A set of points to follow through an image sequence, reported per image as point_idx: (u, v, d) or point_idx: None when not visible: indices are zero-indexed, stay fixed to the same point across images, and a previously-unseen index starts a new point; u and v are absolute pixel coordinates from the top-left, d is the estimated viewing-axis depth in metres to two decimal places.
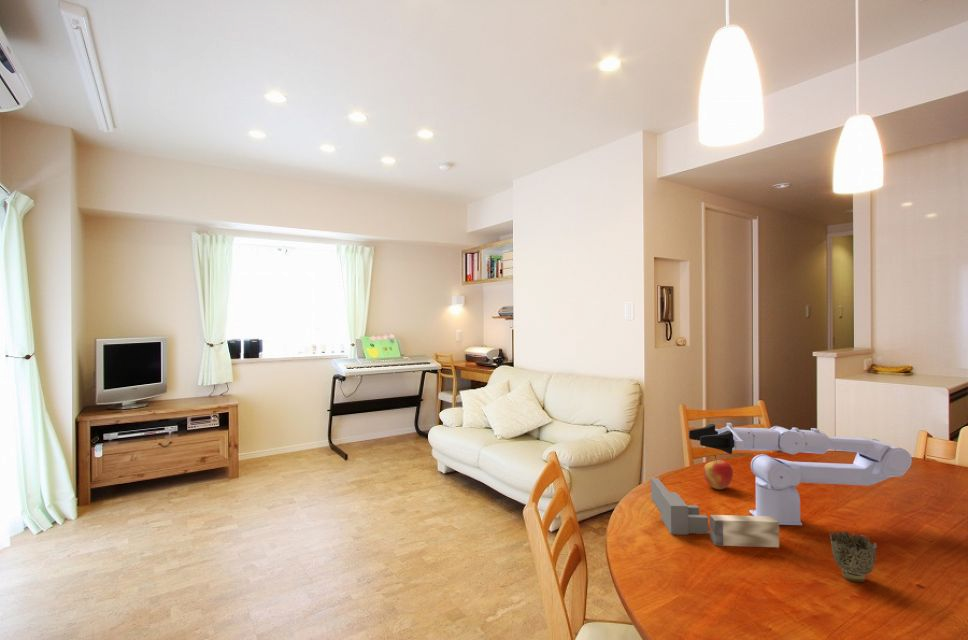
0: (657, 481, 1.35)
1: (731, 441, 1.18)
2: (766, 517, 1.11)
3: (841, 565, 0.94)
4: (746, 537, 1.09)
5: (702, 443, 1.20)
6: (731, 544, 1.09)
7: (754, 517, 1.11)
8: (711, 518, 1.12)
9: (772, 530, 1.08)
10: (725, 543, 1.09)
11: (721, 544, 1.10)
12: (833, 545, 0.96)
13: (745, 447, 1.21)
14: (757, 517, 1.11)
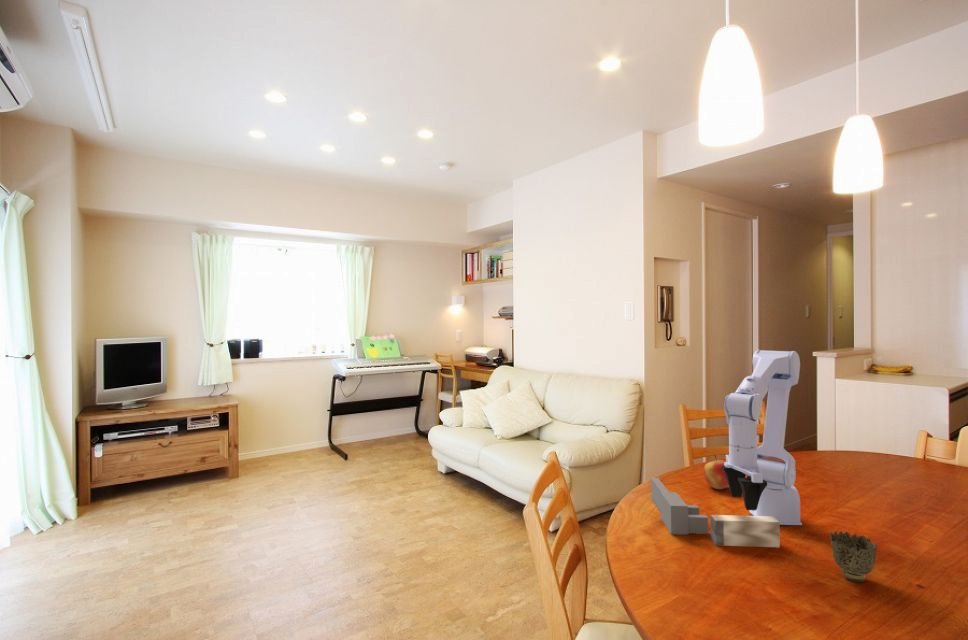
0: (657, 481, 1.35)
1: (752, 483, 1.04)
2: (767, 517, 1.11)
3: (841, 565, 0.94)
4: (746, 538, 1.09)
5: (754, 508, 1.06)
6: (731, 544, 1.09)
7: (755, 517, 1.11)
8: (712, 518, 1.12)
9: (773, 530, 1.08)
10: (725, 543, 1.09)
11: (721, 544, 1.10)
12: (833, 545, 0.96)
13: (755, 455, 1.08)
14: (758, 517, 1.11)
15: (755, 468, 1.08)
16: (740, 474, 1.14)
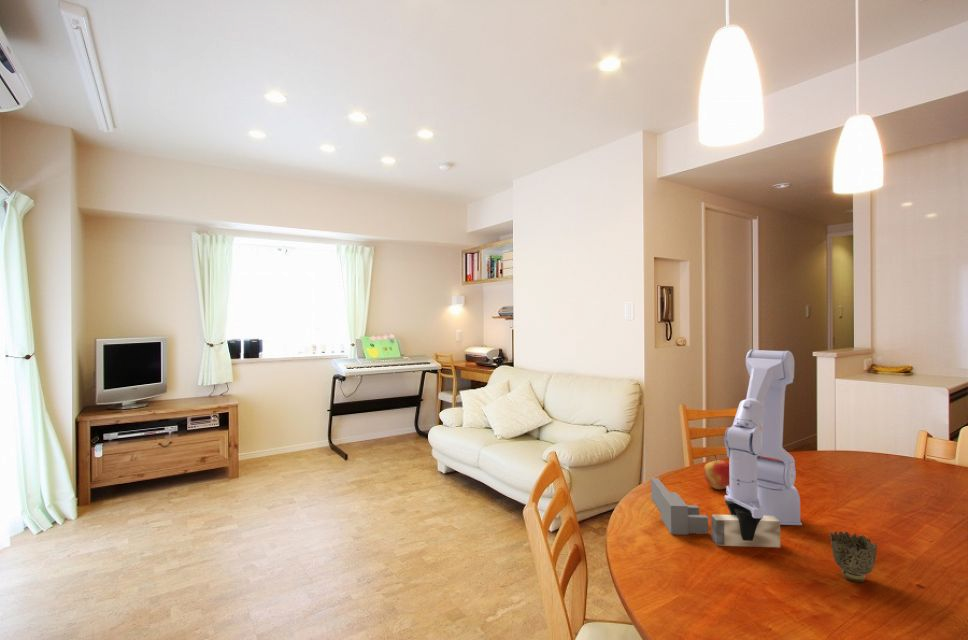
0: (657, 481, 1.35)
1: (749, 515, 1.06)
2: (767, 516, 1.11)
3: (841, 565, 0.94)
4: None
5: (750, 539, 1.08)
6: (732, 544, 1.09)
7: None
8: (712, 518, 1.12)
9: (774, 530, 1.08)
10: (726, 543, 1.09)
11: (722, 544, 1.09)
12: (833, 545, 0.96)
13: (755, 489, 1.08)
14: None
15: (755, 502, 1.08)
16: None
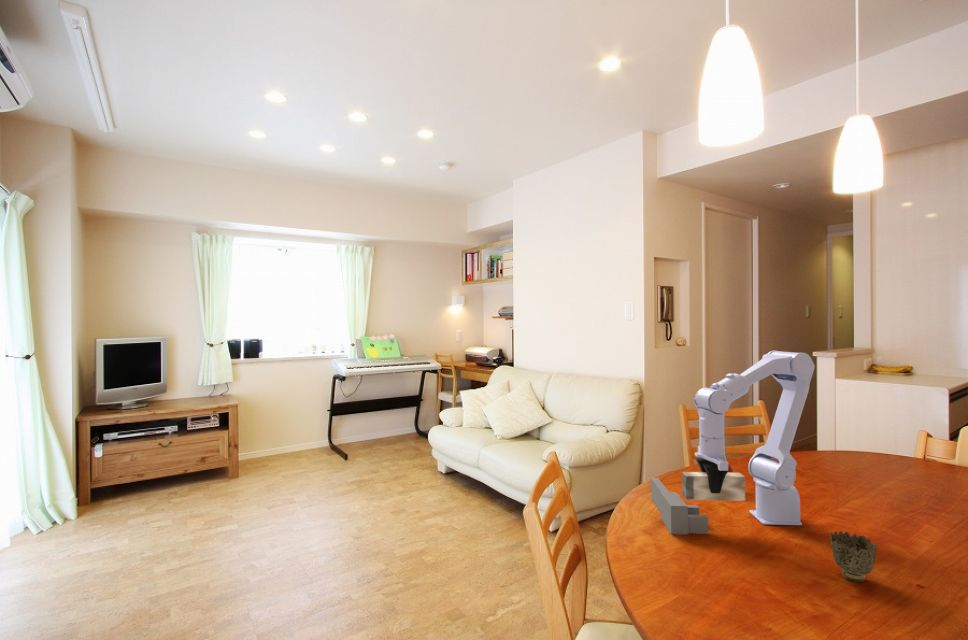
0: (657, 481, 1.35)
1: (716, 468, 1.15)
2: (734, 473, 1.19)
3: (841, 565, 0.94)
4: None
5: (718, 492, 1.17)
6: (701, 498, 1.18)
7: None
8: (683, 474, 1.20)
9: (739, 484, 1.17)
10: (695, 497, 1.18)
11: (692, 498, 1.18)
12: (833, 545, 0.96)
13: (722, 445, 1.16)
14: None
15: (722, 457, 1.16)
16: None
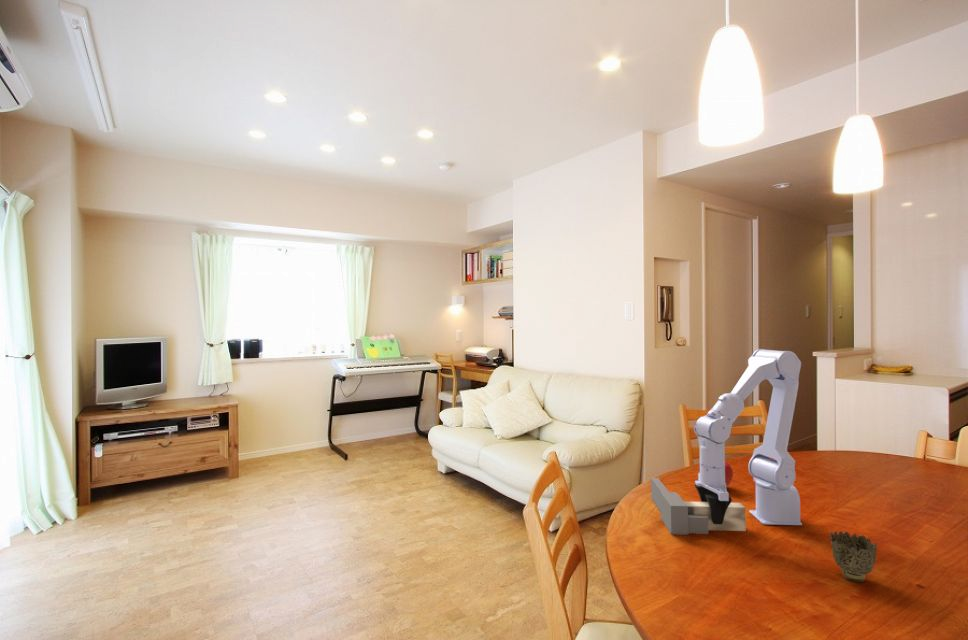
0: (657, 481, 1.35)
1: (718, 500, 1.14)
2: (734, 503, 1.19)
3: (841, 565, 0.94)
4: None
5: (720, 522, 1.15)
6: None
7: None
8: None
9: (739, 515, 1.17)
10: None
11: None
12: (833, 545, 0.96)
13: (723, 474, 1.16)
14: None
15: (723, 487, 1.16)
16: (712, 492, 1.21)
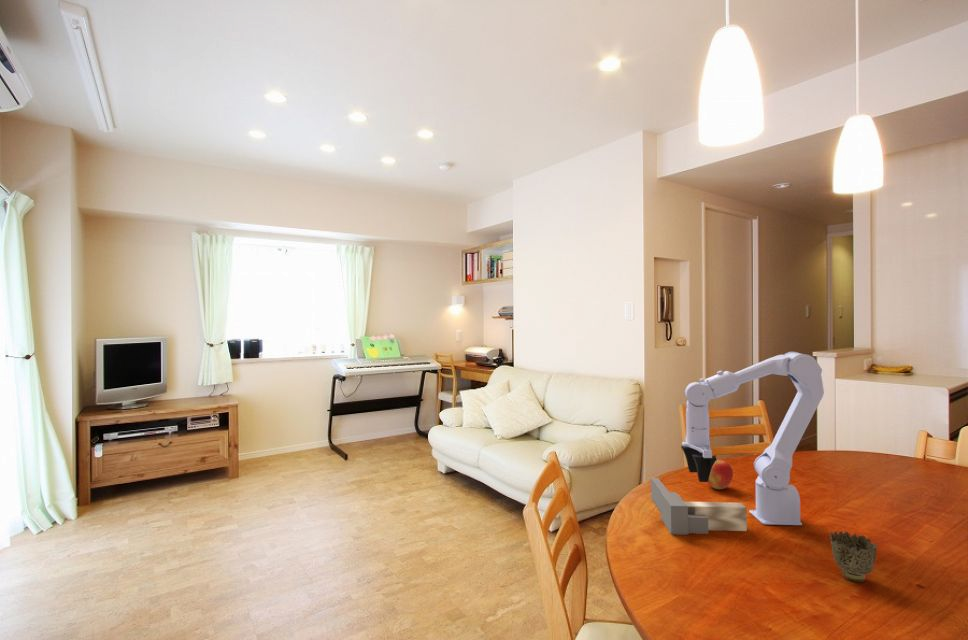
0: (657, 481, 1.35)
1: (704, 458, 1.23)
2: (735, 503, 1.19)
3: (841, 565, 0.94)
4: (716, 522, 1.17)
5: (706, 480, 1.24)
6: None
7: (724, 503, 1.19)
8: None
9: (741, 515, 1.17)
10: None
11: None
12: (833, 545, 0.96)
13: (707, 435, 1.26)
14: (727, 503, 1.19)
15: (707, 446, 1.26)
16: (696, 452, 1.32)
